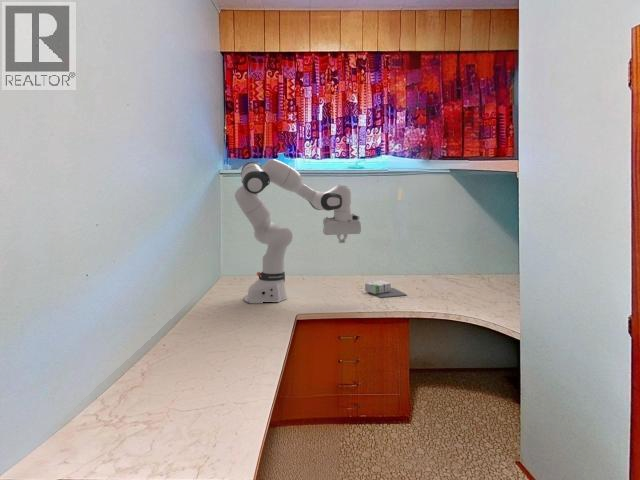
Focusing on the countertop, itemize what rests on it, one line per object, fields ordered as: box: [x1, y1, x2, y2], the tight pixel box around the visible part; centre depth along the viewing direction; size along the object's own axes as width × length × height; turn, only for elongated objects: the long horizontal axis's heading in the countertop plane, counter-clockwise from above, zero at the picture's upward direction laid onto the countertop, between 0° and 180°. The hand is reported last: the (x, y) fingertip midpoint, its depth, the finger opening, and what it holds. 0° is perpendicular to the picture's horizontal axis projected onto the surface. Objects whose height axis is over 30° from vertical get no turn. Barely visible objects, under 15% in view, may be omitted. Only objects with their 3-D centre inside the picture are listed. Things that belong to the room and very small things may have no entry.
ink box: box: [364, 279, 392, 295], centre depth 243 cm, size 9×5×12 cm
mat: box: [373, 287, 408, 299], centre depth 243 cm, size 16×16×1 cm
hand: (341, 242), depth 230 cm, fingers closed
